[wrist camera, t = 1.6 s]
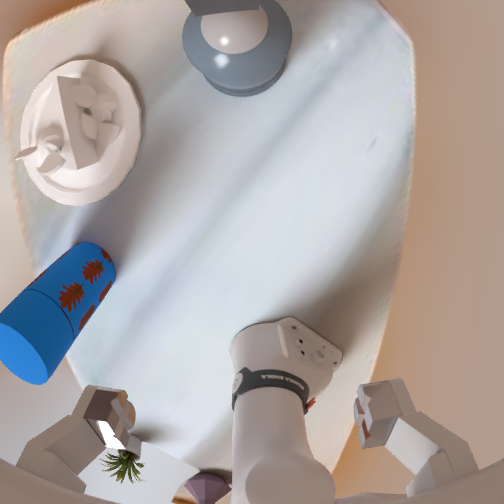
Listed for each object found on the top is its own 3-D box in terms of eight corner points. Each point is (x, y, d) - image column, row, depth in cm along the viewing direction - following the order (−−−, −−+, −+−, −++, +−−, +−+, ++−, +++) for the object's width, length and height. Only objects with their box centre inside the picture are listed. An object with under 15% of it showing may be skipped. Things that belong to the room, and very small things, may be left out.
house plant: (143, 425, 72) (129, 472, 57) (166, 449, 78) (157, 493, 63) (105, 425, 74) (89, 467, 59) (129, 449, 79) (117, 489, 65)
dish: (136, 211, 48) (107, 237, 38) (24, 196, 47) (-14, 216, 36) (154, 58, 38) (125, 44, 28) (31, 67, 37) (-10, 65, 26)
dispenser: (288, 94, 40) (307, 79, 24) (204, 101, 41) (173, 91, 25) (281, 19, 35) (294, -31, 19) (198, 27, 36) (166, -18, 20)
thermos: (91, 230, 49) (3, 309, 26) (127, 278, 53) (62, 376, 30) (58, 258, 52) (-21, 336, 29) (91, 301, 55) (28, 391, 32)
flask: (181, 466, 82) (172, 516, 64) (230, 470, 82) (227, 522, 64) (189, 483, 89) (183, 528, 71) (234, 487, 89) (231, 532, 70)
